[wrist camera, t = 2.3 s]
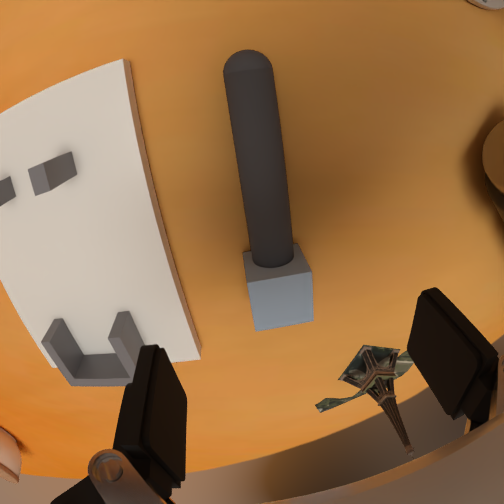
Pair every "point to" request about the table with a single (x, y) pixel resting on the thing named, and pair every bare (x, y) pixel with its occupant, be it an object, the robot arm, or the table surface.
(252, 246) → the cable
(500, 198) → the muzzle brake
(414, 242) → the table surface
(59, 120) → the cable board
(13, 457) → the lidded bowl
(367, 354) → the eiffel tower figurine
